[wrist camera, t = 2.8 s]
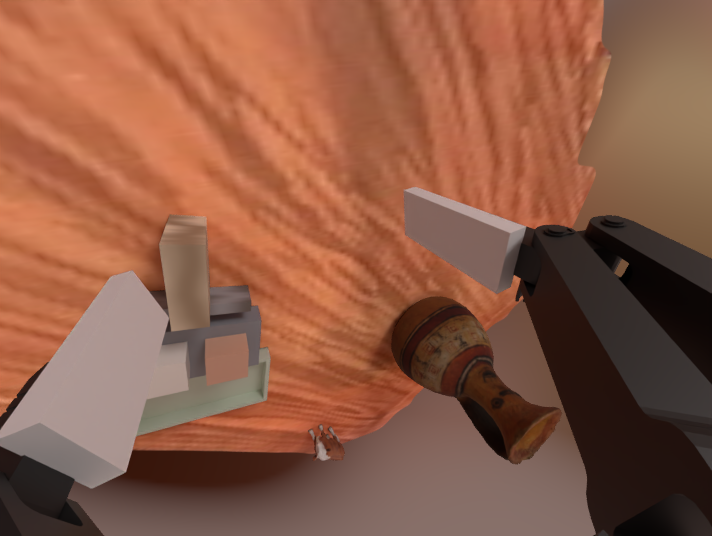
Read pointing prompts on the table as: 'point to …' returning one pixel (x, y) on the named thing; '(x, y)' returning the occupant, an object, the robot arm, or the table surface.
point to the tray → (207, 398)
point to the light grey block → (171, 371)
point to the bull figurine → (327, 446)
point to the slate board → (218, 328)
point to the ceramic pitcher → (469, 376)
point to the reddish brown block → (226, 358)
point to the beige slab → (192, 277)
